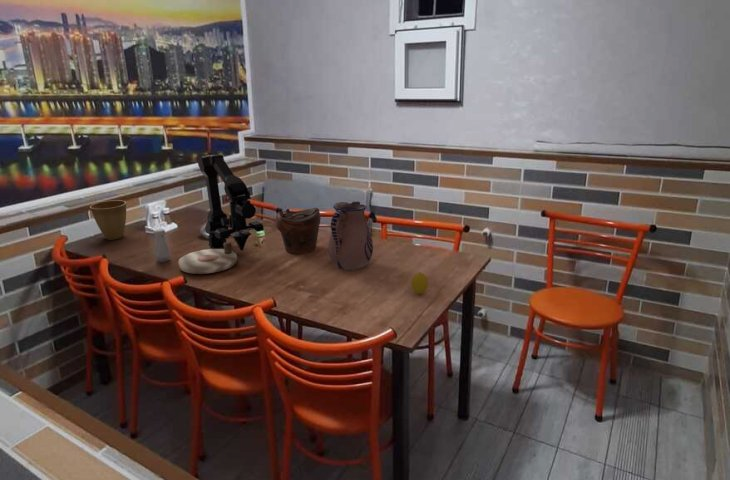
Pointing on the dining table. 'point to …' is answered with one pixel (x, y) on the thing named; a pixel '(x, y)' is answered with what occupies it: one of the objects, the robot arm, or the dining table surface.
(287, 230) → the brown tapered round container
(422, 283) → the lemon
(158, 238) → the salt shaker
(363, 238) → the ceramic pitcher
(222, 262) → the lazy susan
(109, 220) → the plant pot
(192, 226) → the dining table surface
